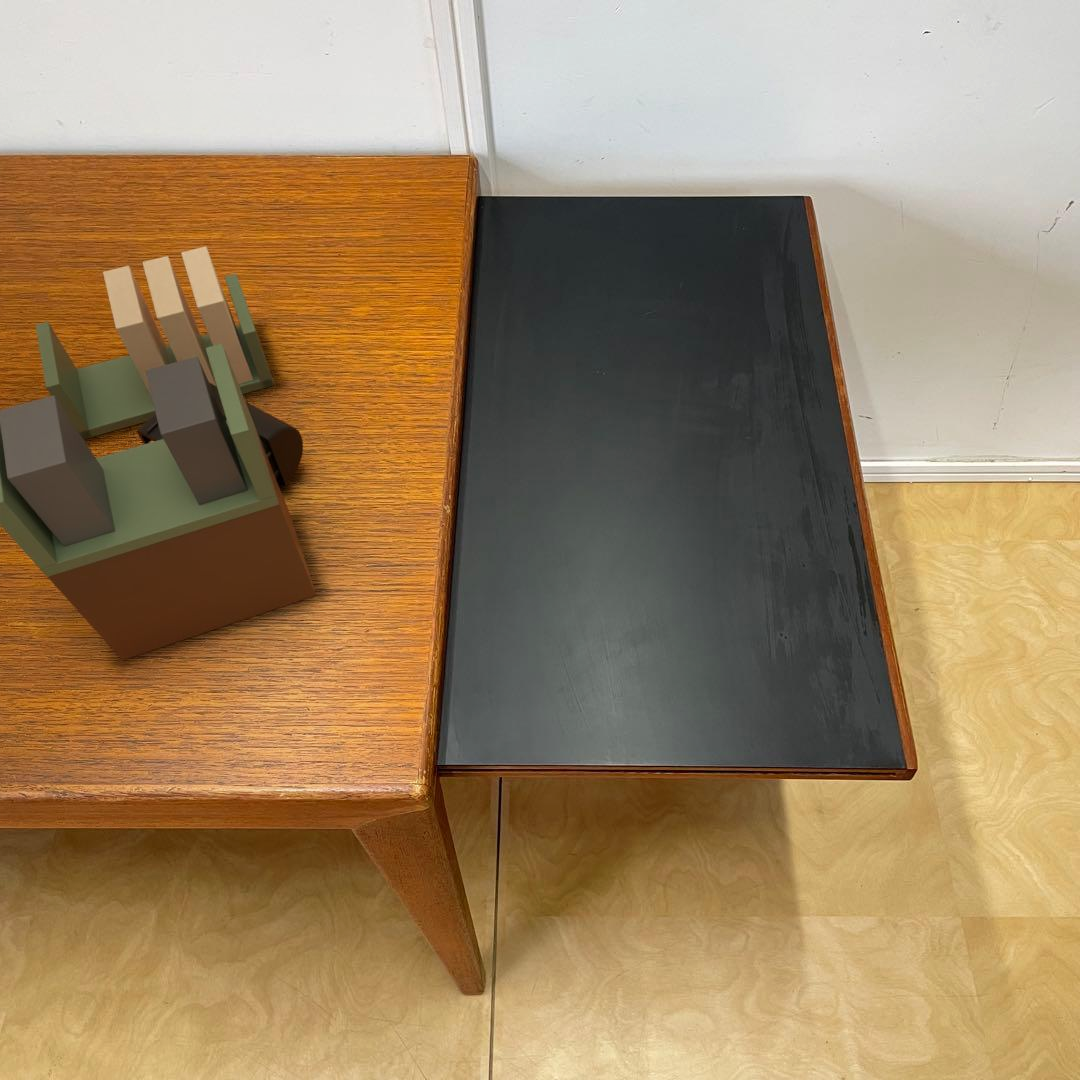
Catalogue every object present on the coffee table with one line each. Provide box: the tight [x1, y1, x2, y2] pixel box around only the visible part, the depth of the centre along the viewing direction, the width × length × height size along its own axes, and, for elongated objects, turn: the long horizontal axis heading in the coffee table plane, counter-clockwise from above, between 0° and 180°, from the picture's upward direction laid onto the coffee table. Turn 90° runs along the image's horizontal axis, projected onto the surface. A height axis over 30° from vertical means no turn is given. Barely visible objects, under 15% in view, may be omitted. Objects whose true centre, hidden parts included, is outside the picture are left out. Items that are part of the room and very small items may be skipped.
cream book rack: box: [35, 245, 275, 441], centre depth 74 cm, size 16×7×10 cm, turn 112°
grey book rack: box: [0, 344, 317, 661], centre depth 59 cm, size 14×7×20 cm, turn 112°
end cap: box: [136, 383, 304, 492], centre depth 71 cm, size 10×7×7 cm
